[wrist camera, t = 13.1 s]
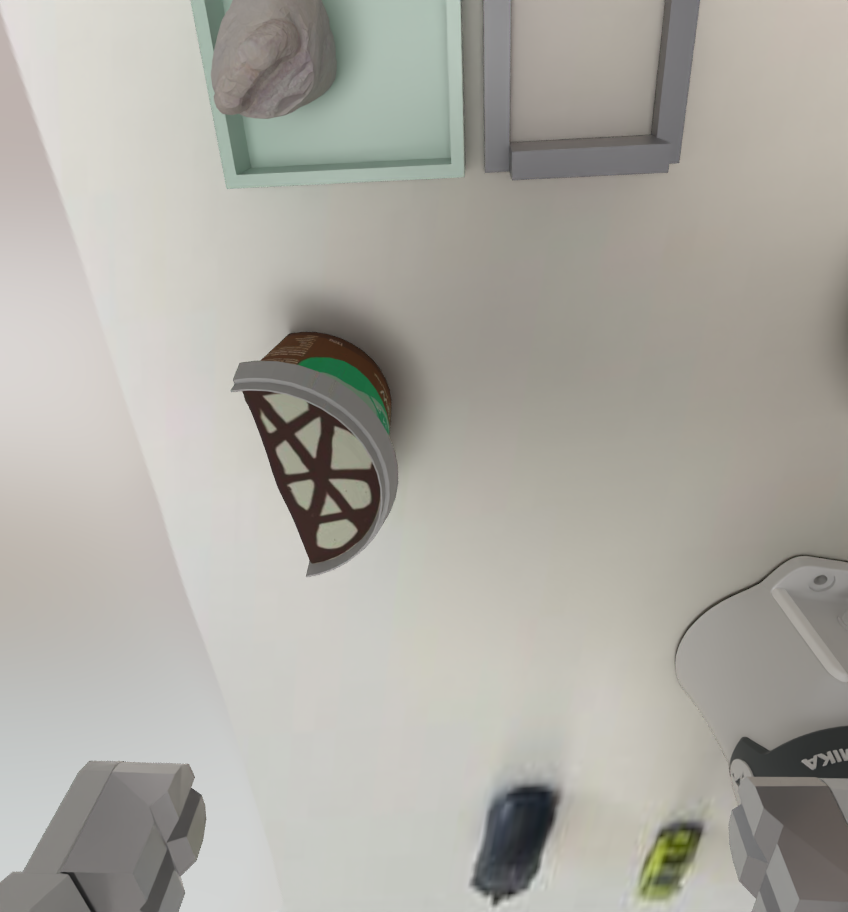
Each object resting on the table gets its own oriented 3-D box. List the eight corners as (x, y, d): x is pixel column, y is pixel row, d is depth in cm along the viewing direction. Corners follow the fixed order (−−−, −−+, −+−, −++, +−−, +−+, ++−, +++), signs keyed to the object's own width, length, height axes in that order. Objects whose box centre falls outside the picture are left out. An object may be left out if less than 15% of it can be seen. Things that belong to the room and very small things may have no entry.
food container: (430, 470, 44) (419, 570, 35) (340, 484, 45) (309, 585, 36) (382, 288, 38) (355, 355, 29) (280, 309, 39) (226, 380, 30)
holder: (707, -120, 28) (739, -145, 25) (672, 159, 34) (695, 171, 30) (482, -101, 29) (483, -123, 25) (484, 169, 34) (485, 181, 31)
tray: (459, -96, 29) (457, -111, 26) (465, 168, 34) (464, 177, 32) (200, -74, 30) (173, -88, 27) (245, 179, 35) (226, 188, 33)
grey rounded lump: (291, -38, 30) (217, -78, 21) (364, -4, 30) (321, -29, 22) (259, 99, 33) (183, 112, 24) (327, 128, 33) (276, 151, 25)
